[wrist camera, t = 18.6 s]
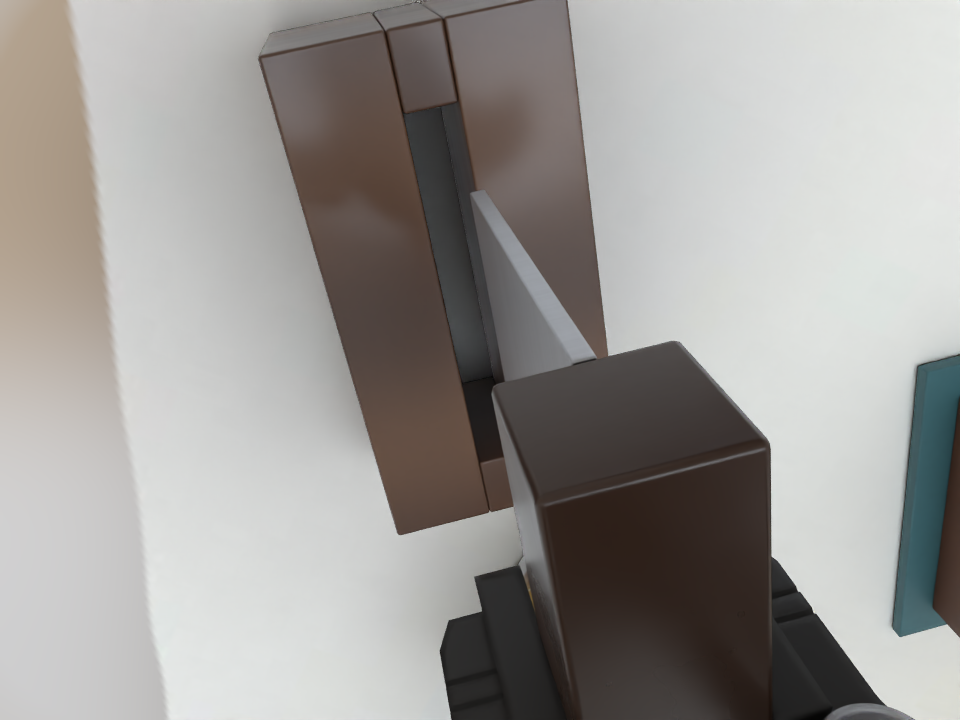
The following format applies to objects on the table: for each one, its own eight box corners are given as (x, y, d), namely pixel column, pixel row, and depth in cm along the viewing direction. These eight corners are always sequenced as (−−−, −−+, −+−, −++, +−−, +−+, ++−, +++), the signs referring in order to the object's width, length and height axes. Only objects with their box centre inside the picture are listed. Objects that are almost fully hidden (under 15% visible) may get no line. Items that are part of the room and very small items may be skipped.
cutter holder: (268, 33, 23) (256, 56, 19) (521, -20, 24) (566, -10, 19) (386, 450, 30) (397, 537, 26) (579, 401, 31) (623, 479, 26)
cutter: (419, 203, 15) (534, 503, 7) (533, 177, 15) (774, 440, 7) (505, 595, 20) (634, 1042, 12) (592, 572, 20) (777, 998, 12)
